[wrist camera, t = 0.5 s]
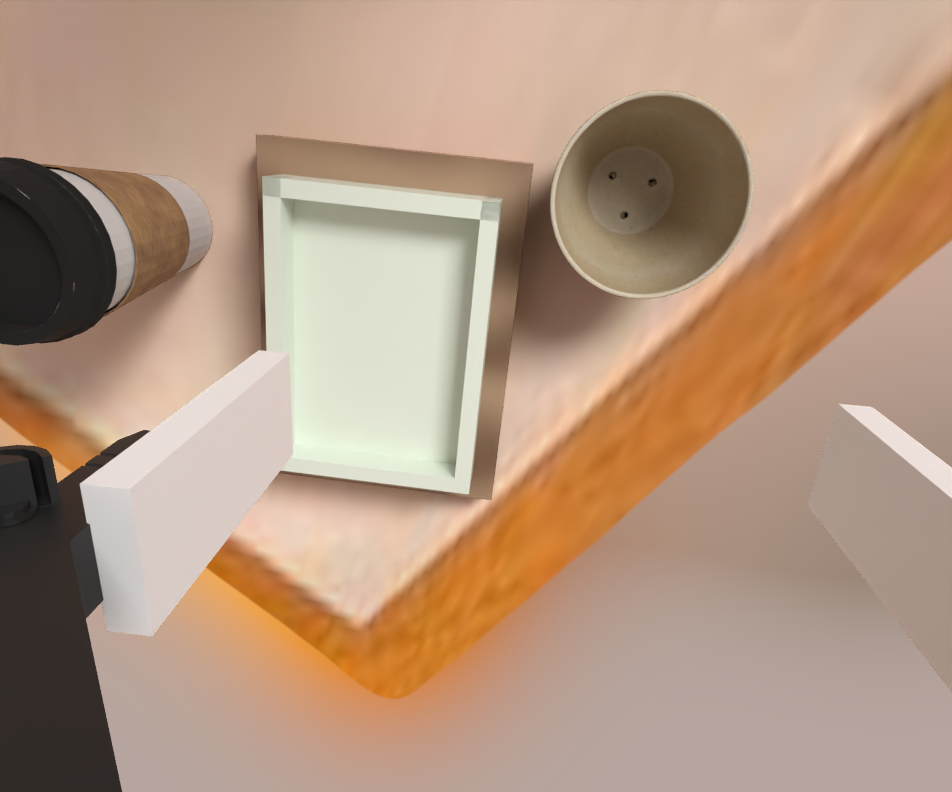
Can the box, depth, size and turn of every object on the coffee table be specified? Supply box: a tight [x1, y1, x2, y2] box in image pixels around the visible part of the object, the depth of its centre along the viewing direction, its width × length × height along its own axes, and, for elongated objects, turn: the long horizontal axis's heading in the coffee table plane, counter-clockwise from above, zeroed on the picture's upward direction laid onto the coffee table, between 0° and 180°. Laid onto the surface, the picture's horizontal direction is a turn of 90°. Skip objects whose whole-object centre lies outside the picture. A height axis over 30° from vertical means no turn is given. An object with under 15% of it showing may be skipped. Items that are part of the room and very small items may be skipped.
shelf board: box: [256, 135, 533, 500], centre depth 41 cm, size 22×16×2 cm
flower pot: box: [550, 90, 754, 299], centre depth 35 cm, size 10×10×7 cm
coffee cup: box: [0, 157, 213, 345], centre depth 34 cm, size 8×8×15 cm
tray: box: [262, 174, 503, 494], centre depth 39 cm, size 18×13×3 cm
